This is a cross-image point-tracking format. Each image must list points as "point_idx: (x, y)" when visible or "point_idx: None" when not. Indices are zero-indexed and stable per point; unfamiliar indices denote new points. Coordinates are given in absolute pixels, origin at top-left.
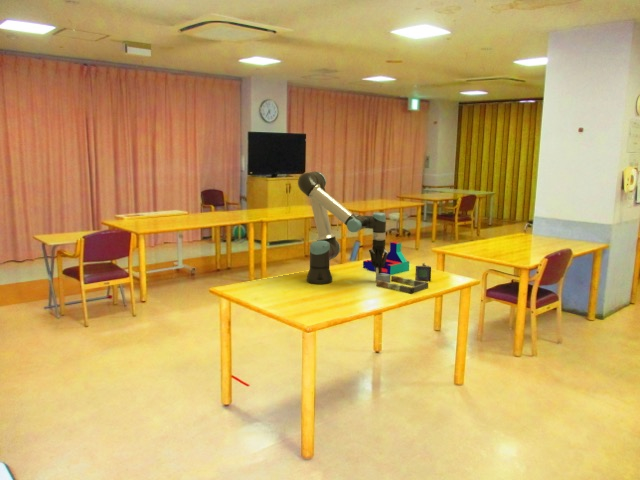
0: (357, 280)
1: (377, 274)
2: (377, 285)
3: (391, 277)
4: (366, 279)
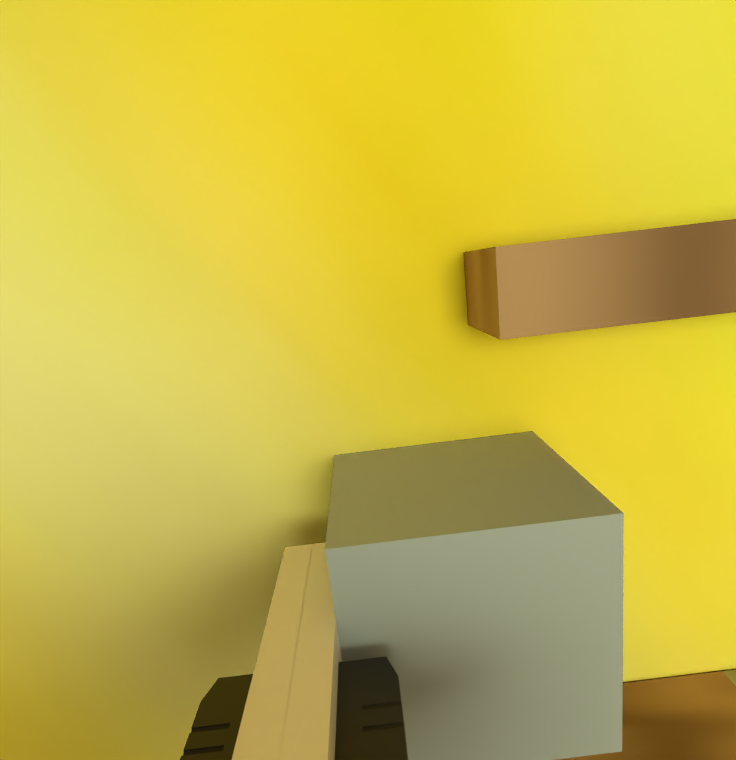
0: (37, 740)
1: None
2: None
3: (495, 333)
4: (68, 589)
